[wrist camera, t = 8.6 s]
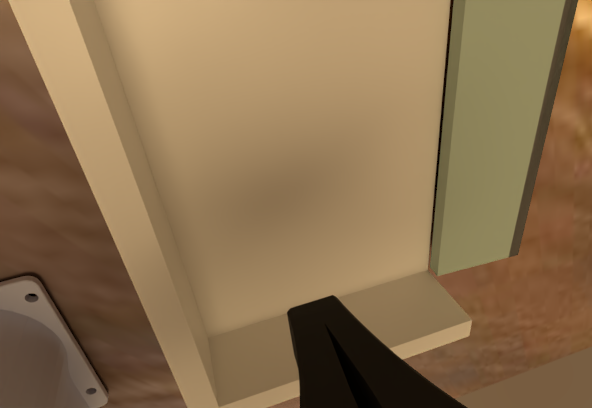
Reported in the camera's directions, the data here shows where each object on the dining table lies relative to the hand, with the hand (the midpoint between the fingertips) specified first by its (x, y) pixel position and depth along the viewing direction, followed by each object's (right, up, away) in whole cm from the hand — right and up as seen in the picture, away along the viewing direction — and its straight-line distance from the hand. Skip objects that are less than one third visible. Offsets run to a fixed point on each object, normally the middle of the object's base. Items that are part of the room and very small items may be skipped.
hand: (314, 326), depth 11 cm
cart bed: (-1, +7, +7) cm, 10 cm away
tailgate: (+6, +8, +7) cm, 12 cm away
